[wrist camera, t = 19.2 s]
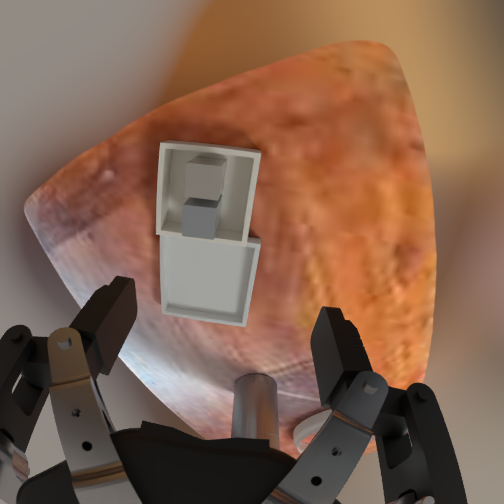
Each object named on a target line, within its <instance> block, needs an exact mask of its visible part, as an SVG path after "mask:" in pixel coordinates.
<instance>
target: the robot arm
mask: <svg viewBox="0 0 504 504" xmlns="http://www.w3.org/2000/svg"><path fill="white" fill-rule="evenodd" d="M136 316H137V299H136V289H135V281H134V279H132V278H127V277H122V276H116V277H115V278H114V280H113V281H112V282H111V284H110V285H109V286H108V285H104V286H102V287H101V288H99V289H98V290H96V291H95V292H94V294H93V295H92V296H91V297H90V300H88V301H87V303H86V304H85V306H84V307H83V308H82V309H81V311H80V312H79V314H78V315H77V316H76V318H75V319H74V320H73V322H72V323H71V325H70V326H69V327H65V328H60V329H57V330H55V331H54V332H52V334H50V336H49V337H36V336H35V337H33V336H32V334H31V331H30V329H29V328H28V327H26V326H24V325H16V326H13V327H11V328H9V329H8V330H7V331H6V332H5V334H4V335H3V337H2V338H1V339H0V499H2V500H3V501H5V502H6V503H8V504H341V503H340V502H339V501H338V500H337V499H336V497H337V496H338V494H339V493H340V491H341V490H342V488H343V487H344V485H345V484H346V482H347V480H348V479H349V477H350V475H351V474H352V472H353V470H354V469H355V467H356V465H357V464H358V462H359V460H360V458H361V456H362V455H363V453H364V451H365V449H366V447H367V445H368V443H369V441H370V439H371V437H372V435H374V436H375V440H376V446H377V451H378V457H379V463H380V469H381V476H382V483H383V490H384V498H385V504H468V503H467V499H466V494H465V489H464V485H463V481H462V477H461V473H460V469H459V465H458V462H457V458H456V455H455V451H454V448H453V445H452V442H451V439H450V436H449V432H448V430H447V427H446V424H445V421H444V418H443V415H442V413H441V410H440V407H439V405H438V402H437V399H436V397H435V394H434V392H433V391H432V390H431V389H430V388H429V387H428V386H427V385H425V384H422V383H413V384H411V385H410V386H409V387H408V388H407V390H402V389H398V388H393V387H390V386H388V384H387V382H386V380H385V379H384V378H383V377H382V376H381V375H380V374H378V373H376V372H373V370H372V367H371V364H370V361H369V359H368V356H367V353H366V351H365V348H364V346H363V343H362V340H361V339H360V335H359V332H358V330H357V328H356V327H355V326H354V325H353V324H352V322H351V321H350V320H345V319H344V316H343V313H342V311H341V309H340V308H335V307H325V306H323V307H322V308H321V310H320V313H319V315H318V318H317V321H316V324H315V326H314V329H313V331H312V335H311V351H312V356H313V361H314V367H315V372H316V378H317V383H318V389H319V395H320V401H321V407H331V410H332V413H331V414H330V415H329V417H328V418H327V420H326V421H325V423H324V424H323V425H322V427H321V428H320V430H319V431H318V432H317V434H316V435H315V437H314V438H313V439H312V441H311V442H310V443H309V444H308V446H307V447H306V448H305V450H304V451H303V452H302V453H301V454H300V456H299V457H298V458H297V459H294V458H293V457H291V456H290V455H288V454H286V453H284V452H282V451H280V441H279V419H278V397H277V384H276V382H275V380H274V379H272V378H271V377H269V376H265V375H261V374H251V375H246V376H243V377H241V378H239V379H238V380H237V381H236V383H235V391H234V403H233V416H232V429H231V438H227V439H216V440H202V439H199V438H197V437H194V436H192V435H189V434H187V433H184V432H182V431H180V430H177V429H175V428H173V427H168V426H164V425H159V424H155V423H151V422H147V421H142V424H141V428H129V429H123V430H120V431H116V429H115V427H114V425H113V423H112V421H111V419H110V416H109V413H108V411H107V408H106V406H105V403H104V400H103V397H102V394H101V392H100V389H99V385H98V382H97V380H96V379H97V377H98V375H99V373H102V374H105V375H109V373H110V371H111V369H112V367H113V365H114V362H115V360H116V358H117V356H118V354H119V352H120V350H121V348H122V346H123V344H124V342H125V340H126V338H127V336H128V334H129V332H130V330H131V328H132V326H133V324H134V322H135V320H136ZM20 374H21V375H22V377H21V379H20V380H19V382H18V384H17V386H16V388H15V390H14V392H13V393H12V388H13V386H14V384H15V382H16V380H17V379H18V377H19V375H20ZM49 393H50V398H51V404H52V408H53V413H54V418H55V422H56V426H57V430H58V434H59V437H60V441H61V444H62V448H63V451H64V454H65V457H66V460H64V461H63V462H61V463H59V464H57V465H55V466H53V467H51V468H49V469H47V470H45V471H43V472H41V473H39V474H37V475H35V476H33V477H31V478H29V479H28V475H29V474H30V469H29V467H28V460H27V457H26V455H25V451H26V448H27V446H28V443H29V440H30V438H31V435H32V432H33V430H34V427H35V425H36V422H37V420H38V417H39V415H40V413H41V410H42V408H43V406H44V404H45V401H46V399H47V397H48V395H49ZM408 432H409V434H408ZM409 436H410V438H409ZM410 440H411V442H410ZM411 444H412V446H411Z"/></svg>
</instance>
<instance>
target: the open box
mask: <svg viewBox="0 0 504 504" xmlns="http://www.w3.org/2000/svg"><path fill="white" fill-rule="evenodd" d="M197 156H203V157H213V158H222V159H227V166H226V174H225V182H224V189H223V191H222V193H221V195H223V196H222V207H221V217H220V224H219V227H218V230H217V232H216V235H215V238H214V240H211V239H202V238H194V237H186V236H182V215H183V204H184V203H185V202H186V201H187V199H188V198H189V197H184V187H185V174H186V163H187V162H188V161H190V160H192V159H193V158H195V157H197ZM260 157H261V150H255V149H249V148H241V147H234V146H226V145H217V144H208V143H198V142H186V141H173V140H168V141H165V142H161V143H160V151H159V165H158V181H157V205H156V234H157V235H164V236H171V237H178V238H185V239H192V240H199V241H206V242H213V243H220V244H227V245H234V246H241V247H246V245H247V239H248V232H249V226H250V220H251V213H252V207H253V201H254V194H255V188H256V182H257V176H258V170H259V163H260Z"/></svg>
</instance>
